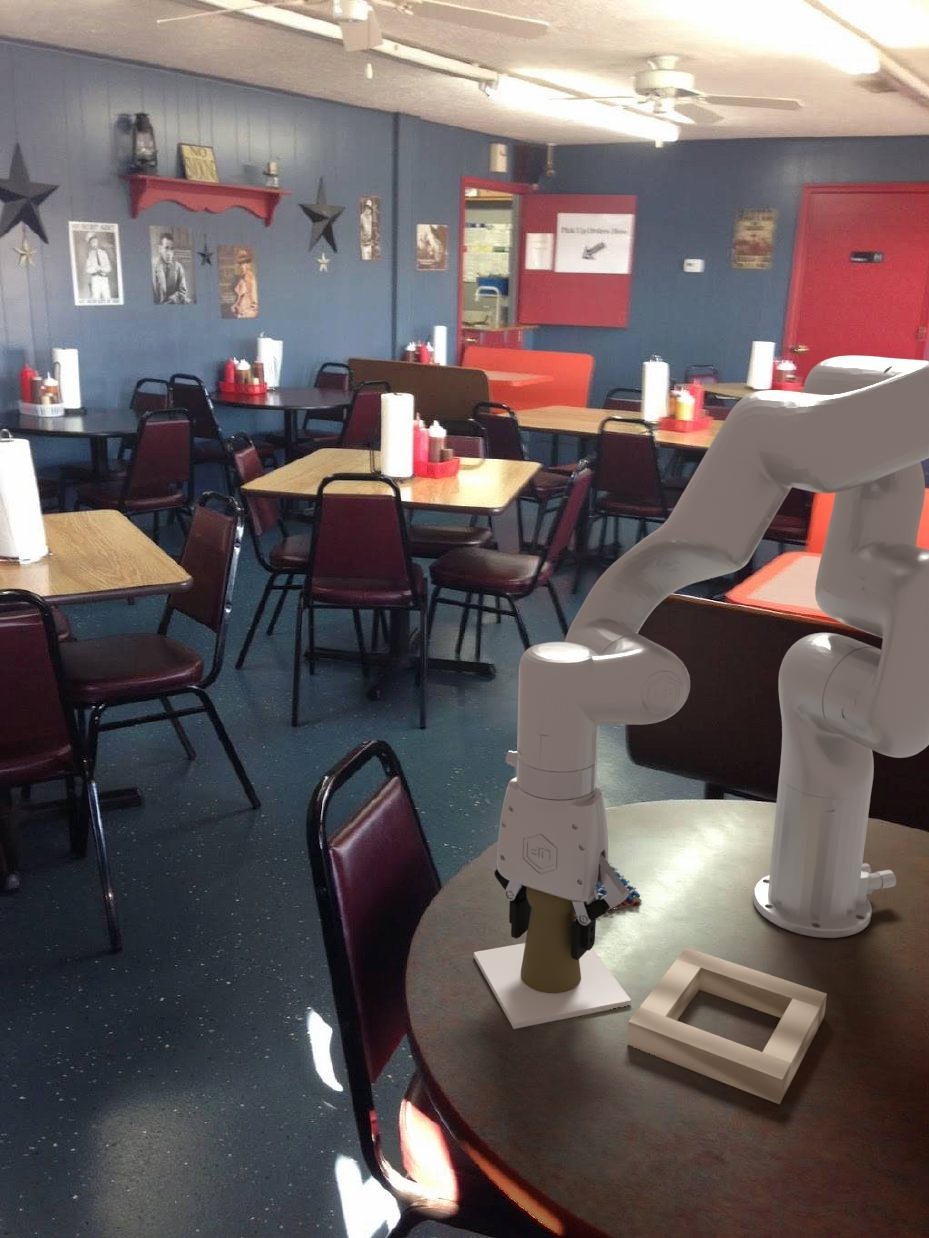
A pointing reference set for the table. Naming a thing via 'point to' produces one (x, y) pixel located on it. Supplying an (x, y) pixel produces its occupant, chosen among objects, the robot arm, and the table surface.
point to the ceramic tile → (541, 1007)
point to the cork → (549, 945)
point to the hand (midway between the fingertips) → (551, 940)
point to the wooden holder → (717, 1055)
